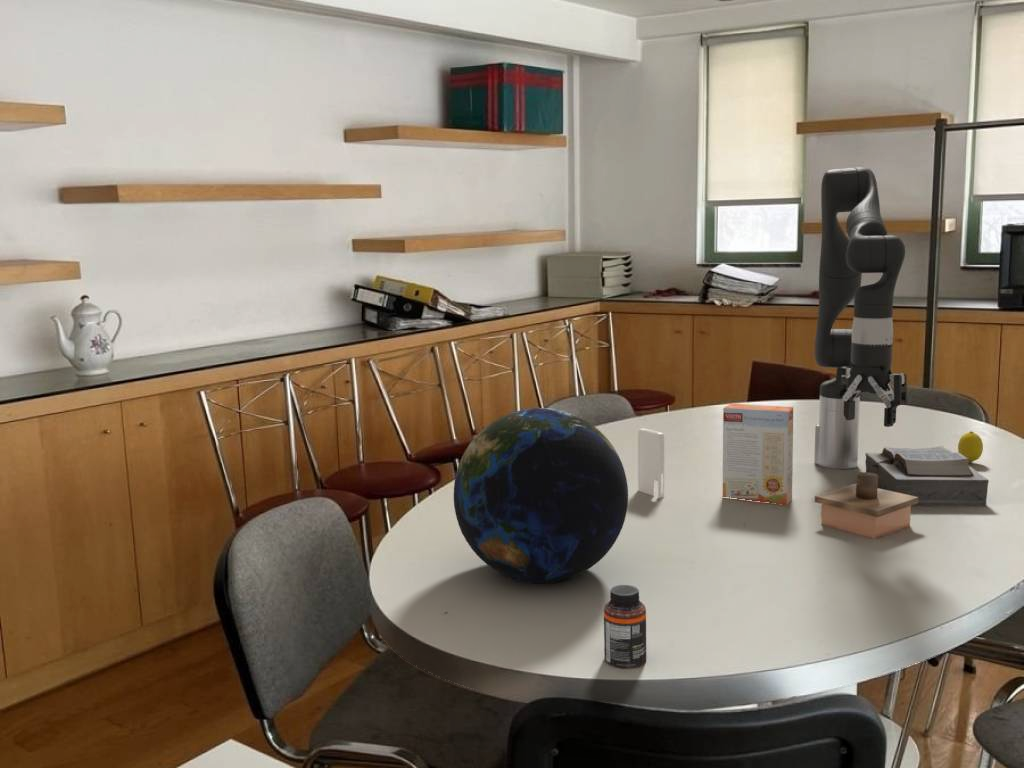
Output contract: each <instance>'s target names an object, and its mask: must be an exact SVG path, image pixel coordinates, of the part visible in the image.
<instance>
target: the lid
mask: <svg viewBox="0 0 1024 768" xmlns="http://www.w3.org/2000/svg"><path fill="white" fill-rule="evenodd" d="M855 479H856V482H855V483H853V484H851V485H847V486H844V487H843V486H842V487H840V488H838V489H837V488H836V489H834V490H829V491H827V492H823V493H821V494H818V495H815V496H814V502H815V503H818V504H821V505H822V504H825V505H829V506H833V507H837V508H841V509H846V510H850V511H854V512H858V513H862V514H866V515H870V516H874V517H880V516H883V515H886V514H889V513H891V512H894V511H897V510H900V509H903V508H906V507H909V506H911V505H914V504H917V503H918V499H919V497H916V496H911V495H906V494H902V493H897V492H893V491H888V490H884V489H879V488H878V475H877V474H874V473H867V472H866V471H865V472H858V473H856V478H855ZM911 507H912V506H911Z"/></svg>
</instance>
